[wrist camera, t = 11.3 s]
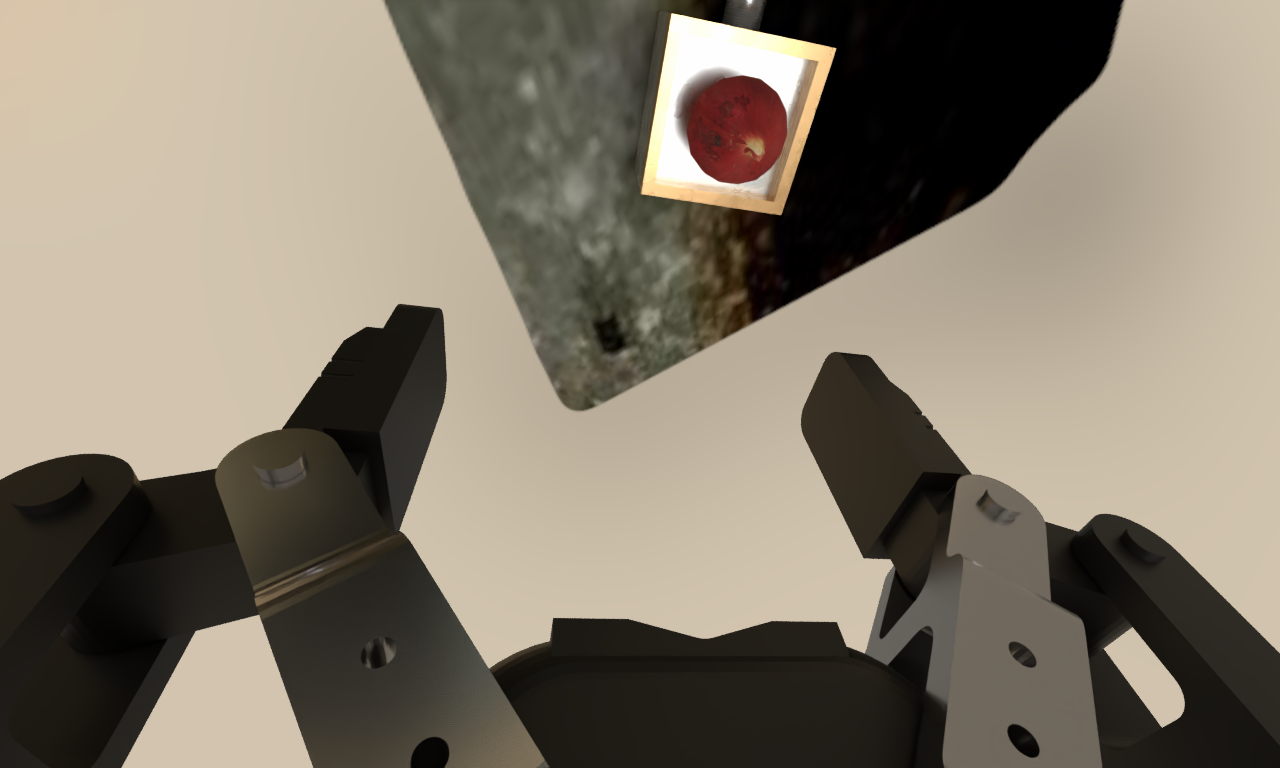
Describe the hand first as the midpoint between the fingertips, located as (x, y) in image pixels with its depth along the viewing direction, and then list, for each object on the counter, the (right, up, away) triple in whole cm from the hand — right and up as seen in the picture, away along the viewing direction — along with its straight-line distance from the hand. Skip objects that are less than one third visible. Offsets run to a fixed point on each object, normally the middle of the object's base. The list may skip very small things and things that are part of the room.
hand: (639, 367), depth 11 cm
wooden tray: (+6, +21, +26) cm, 34 cm away
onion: (+5, +17, +23) cm, 29 cm away
